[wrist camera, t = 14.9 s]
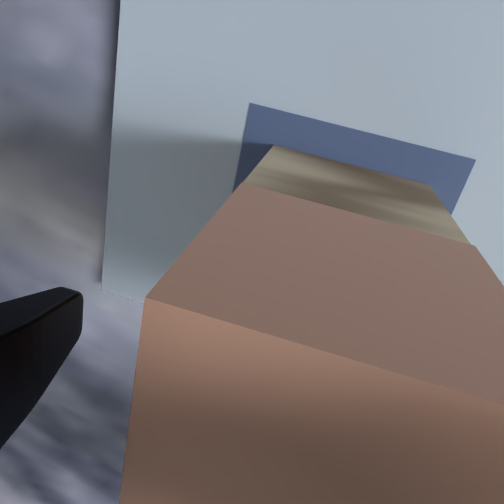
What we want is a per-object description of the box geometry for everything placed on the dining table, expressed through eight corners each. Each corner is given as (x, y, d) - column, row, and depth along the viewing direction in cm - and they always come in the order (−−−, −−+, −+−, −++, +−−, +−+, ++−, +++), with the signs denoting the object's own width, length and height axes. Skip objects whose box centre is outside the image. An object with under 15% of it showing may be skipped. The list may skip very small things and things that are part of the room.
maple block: (429, 184, 13) (473, 247, 9) (376, 315, 15) (389, 420, 11) (274, 145, 14) (240, 185, 9) (243, 277, 16) (203, 363, 11)
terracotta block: (389, 418, 11) (421, 665, 6) (203, 360, 11) (112, 555, 7) (475, 245, 9) (611, 438, 4) (241, 182, 9) (144, 297, 5)
